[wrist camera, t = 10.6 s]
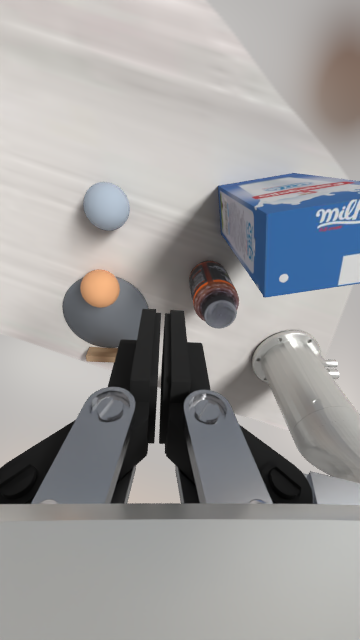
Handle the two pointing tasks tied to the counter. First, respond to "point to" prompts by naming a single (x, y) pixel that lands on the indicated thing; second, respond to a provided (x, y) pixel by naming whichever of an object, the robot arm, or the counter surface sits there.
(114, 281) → the orange ball
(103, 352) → the rail
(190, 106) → the counter surface
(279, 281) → the milk carton
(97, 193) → the light blue ball
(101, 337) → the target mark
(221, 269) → the supplement bottle
